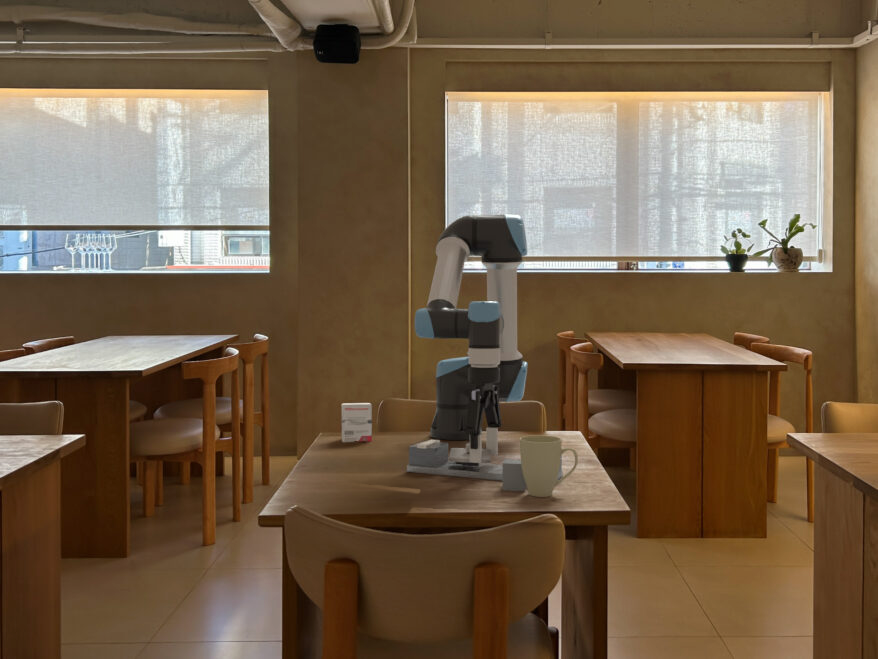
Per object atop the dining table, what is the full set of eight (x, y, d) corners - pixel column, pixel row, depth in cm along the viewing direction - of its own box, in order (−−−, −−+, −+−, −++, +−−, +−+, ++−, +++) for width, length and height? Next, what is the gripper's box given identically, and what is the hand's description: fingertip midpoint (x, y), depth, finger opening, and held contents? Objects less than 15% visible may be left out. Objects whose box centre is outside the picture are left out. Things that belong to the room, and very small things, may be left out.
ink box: (370, 442, 246) (370, 401, 246) (372, 445, 241) (371, 404, 241) (341, 442, 245) (341, 402, 245) (342, 445, 240) (341, 404, 240)
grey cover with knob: (490, 470, 197) (490, 449, 196) (448, 468, 197) (448, 447, 197) (490, 461, 206) (491, 441, 206) (450, 459, 207) (451, 439, 207)
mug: (534, 501, 174) (535, 444, 174) (511, 491, 183) (512, 436, 183) (579, 496, 179) (580, 440, 178) (555, 487, 188) (555, 433, 187)
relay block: (504, 485, 190) (504, 459, 190) (526, 486, 189) (526, 459, 189) (502, 490, 185) (502, 463, 185) (525, 491, 184) (525, 464, 184)
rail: (424, 464, 214) (424, 438, 213) (562, 476, 199) (562, 448, 199) (407, 471, 204) (407, 444, 204) (550, 485, 190) (550, 456, 189)
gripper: (486, 361, 213) (486, 449, 213) (450, 369, 192) (450, 465, 193) (514, 362, 210) (514, 451, 210) (481, 370, 189) (481, 468, 190)
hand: (483, 458), depth 202 cm, fingers closed on grey cover with knob, 10 cm apart
